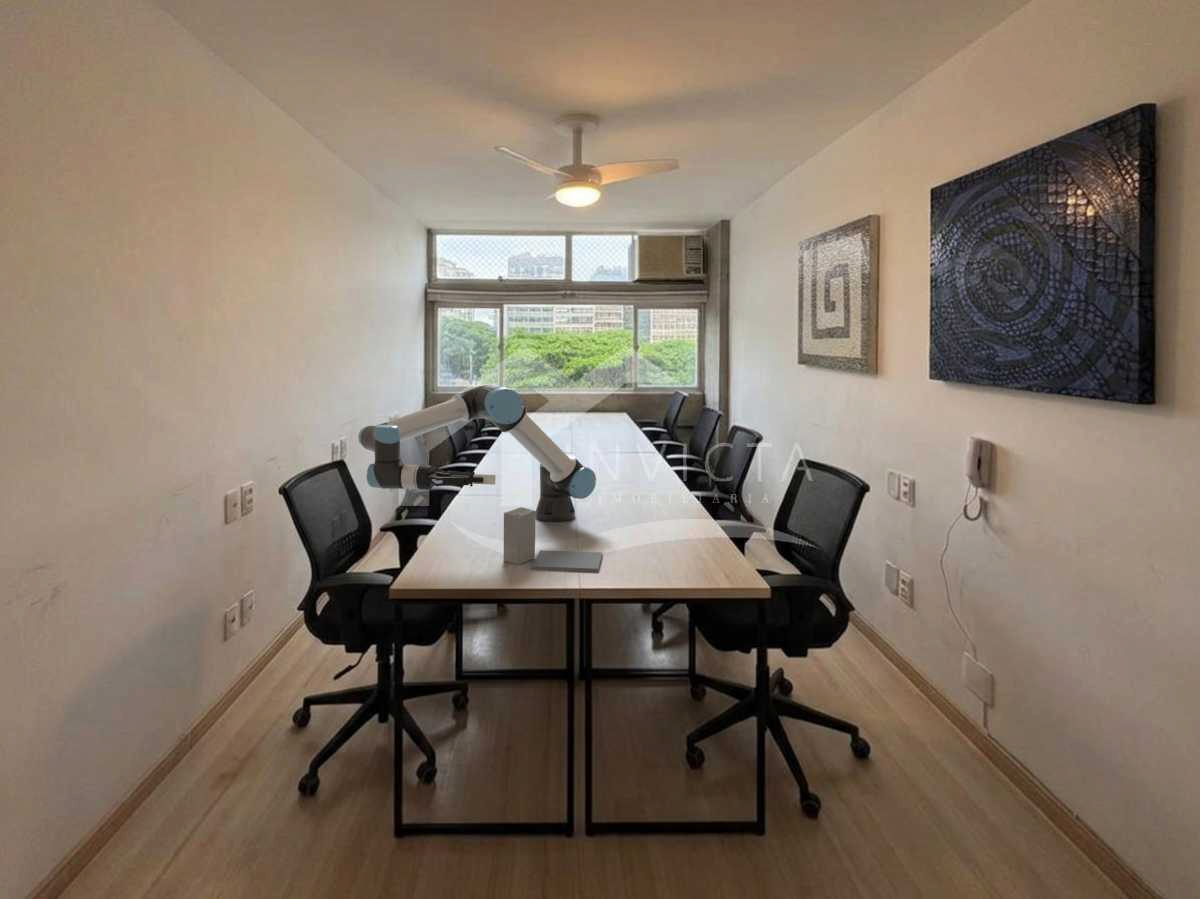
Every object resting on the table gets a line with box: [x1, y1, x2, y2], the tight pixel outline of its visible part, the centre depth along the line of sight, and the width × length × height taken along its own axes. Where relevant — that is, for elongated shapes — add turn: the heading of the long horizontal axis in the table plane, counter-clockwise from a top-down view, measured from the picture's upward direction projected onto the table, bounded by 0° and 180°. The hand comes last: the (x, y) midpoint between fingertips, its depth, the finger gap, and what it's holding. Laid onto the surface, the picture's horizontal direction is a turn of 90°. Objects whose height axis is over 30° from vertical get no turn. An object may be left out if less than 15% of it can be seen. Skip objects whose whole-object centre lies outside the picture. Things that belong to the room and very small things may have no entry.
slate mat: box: [530, 549, 603, 573], centre depth 221 cm, size 20×16×1 cm
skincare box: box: [503, 506, 537, 566], centre depth 221 cm, size 8×7×16 cm
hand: (494, 479), depth 218 cm, fingers closed
